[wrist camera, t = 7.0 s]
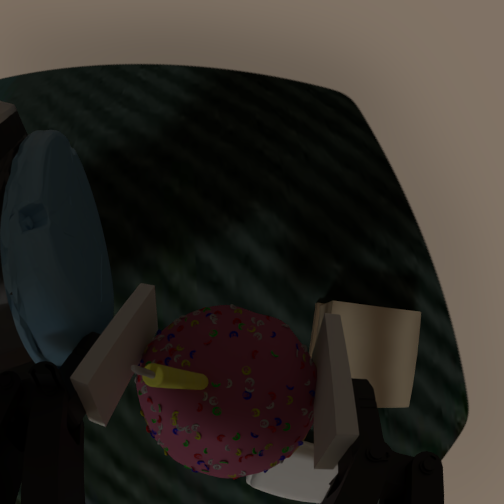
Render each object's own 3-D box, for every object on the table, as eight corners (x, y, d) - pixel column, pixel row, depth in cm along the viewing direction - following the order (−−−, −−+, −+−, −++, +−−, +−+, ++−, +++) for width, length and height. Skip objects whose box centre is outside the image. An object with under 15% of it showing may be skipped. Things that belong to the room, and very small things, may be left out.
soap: (345, 451, 26) (355, 459, 23) (318, 500, 24) (325, 512, 22) (267, 428, 27) (270, 437, 24) (241, 480, 25) (241, 492, 22)
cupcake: (139, 389, 17) (7, 408, 6) (223, 289, 19) (182, 188, 8) (245, 474, 15) (235, 597, 4) (332, 372, 18) (442, 382, 6)
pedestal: (301, 397, 27) (312, 408, 23) (315, 303, 30) (329, 296, 25) (387, 401, 27) (410, 409, 23) (399, 314, 30) (423, 308, 25)
